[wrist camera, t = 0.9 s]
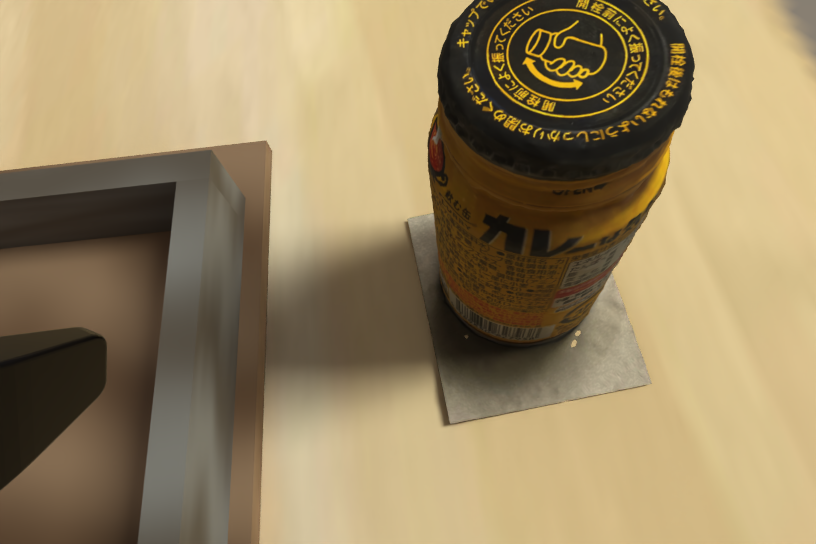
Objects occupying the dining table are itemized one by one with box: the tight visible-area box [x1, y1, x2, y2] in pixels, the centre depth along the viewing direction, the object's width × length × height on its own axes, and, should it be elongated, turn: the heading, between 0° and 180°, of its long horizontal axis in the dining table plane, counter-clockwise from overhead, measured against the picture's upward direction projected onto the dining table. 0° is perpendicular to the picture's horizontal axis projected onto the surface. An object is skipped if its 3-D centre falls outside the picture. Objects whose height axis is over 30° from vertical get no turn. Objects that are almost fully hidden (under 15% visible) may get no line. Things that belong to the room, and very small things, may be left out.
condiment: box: [408, 0, 695, 424], centre depth 17 cm, size 7×8×12 cm
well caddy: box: [0, 141, 272, 544], centre depth 21 cm, size 20×16×4 cm
